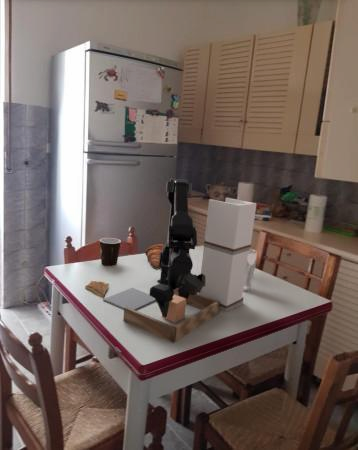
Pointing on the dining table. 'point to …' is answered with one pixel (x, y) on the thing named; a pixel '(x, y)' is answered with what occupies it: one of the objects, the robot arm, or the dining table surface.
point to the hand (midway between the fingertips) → (173, 312)
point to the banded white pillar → (227, 250)
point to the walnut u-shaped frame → (180, 329)
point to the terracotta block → (176, 309)
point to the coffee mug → (109, 251)
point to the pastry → (154, 255)
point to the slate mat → (130, 299)
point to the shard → (97, 287)
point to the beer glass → (249, 269)
